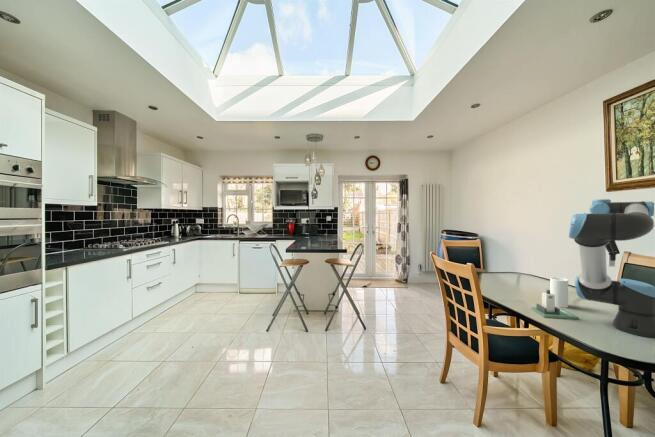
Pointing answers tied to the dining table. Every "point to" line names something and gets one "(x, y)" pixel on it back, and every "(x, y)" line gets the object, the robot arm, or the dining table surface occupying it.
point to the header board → (554, 313)
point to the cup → (559, 291)
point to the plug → (548, 301)
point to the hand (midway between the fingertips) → (600, 263)
